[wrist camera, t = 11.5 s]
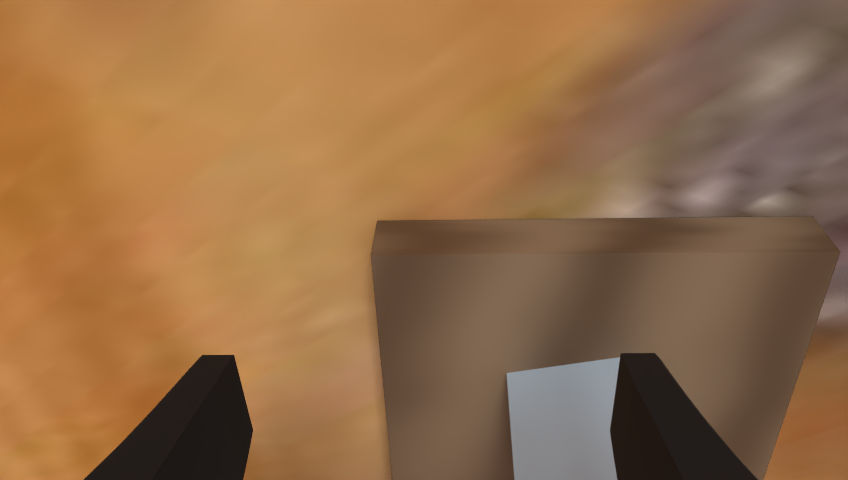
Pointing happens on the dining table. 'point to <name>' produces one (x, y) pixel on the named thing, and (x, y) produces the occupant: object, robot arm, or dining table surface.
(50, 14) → the dining table surface
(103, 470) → the robot arm
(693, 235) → the walnut board
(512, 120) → the dining table surface
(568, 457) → the blue-grey block
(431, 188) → the dining table surface
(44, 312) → the dining table surface
